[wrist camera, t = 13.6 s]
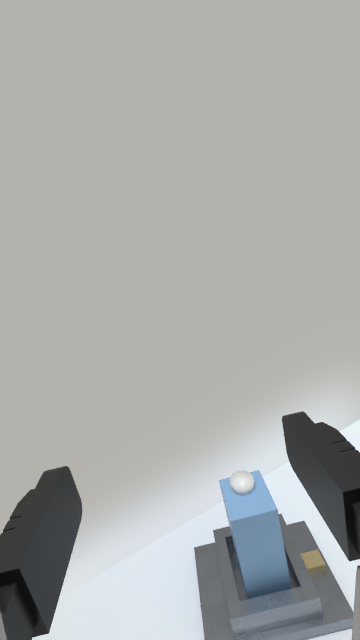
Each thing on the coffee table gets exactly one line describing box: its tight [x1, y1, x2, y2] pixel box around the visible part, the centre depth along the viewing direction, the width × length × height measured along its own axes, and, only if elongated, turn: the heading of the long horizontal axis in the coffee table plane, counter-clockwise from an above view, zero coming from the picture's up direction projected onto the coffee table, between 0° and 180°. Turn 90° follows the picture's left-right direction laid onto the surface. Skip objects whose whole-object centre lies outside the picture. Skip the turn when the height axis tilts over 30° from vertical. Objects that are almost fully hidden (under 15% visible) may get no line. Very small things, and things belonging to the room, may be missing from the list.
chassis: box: [194, 514, 354, 640], centre depth 32 cm, size 14×10×4 cm
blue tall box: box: [219, 470, 291, 599], centre depth 31 cm, size 4×5×12 cm
